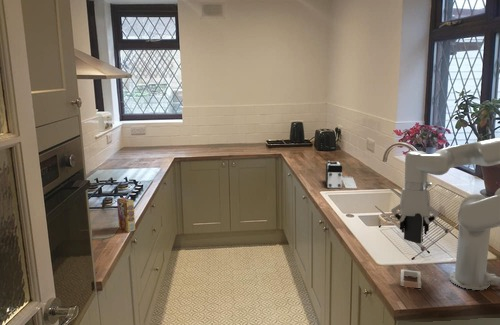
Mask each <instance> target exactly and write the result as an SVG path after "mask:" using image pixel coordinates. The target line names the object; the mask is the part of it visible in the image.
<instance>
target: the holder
mask: <svg viewBox="0 0 500 325" xmlns="http://www.w3.org/2000/svg"><path fill="white" fill-rule="evenodd" d="M404 275H407V276H406V277H408V276H414V277H413V278H416V277H417V278H416V280H417V281H410V280H404V279H405V276H404ZM421 276H422V275H421V271H417V270H409V269H402V268H401V269H400V285H402V286H408V287H416V288H421V289H422V277H421Z"/></svg>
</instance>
